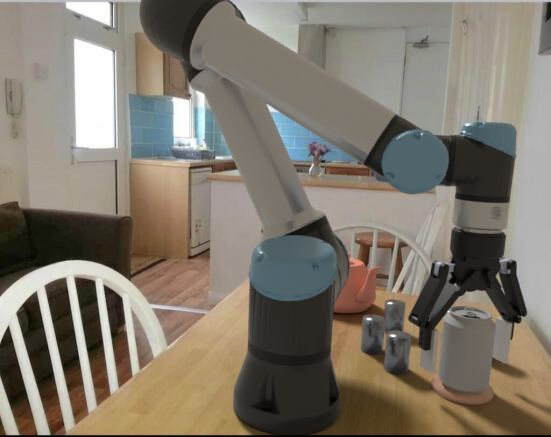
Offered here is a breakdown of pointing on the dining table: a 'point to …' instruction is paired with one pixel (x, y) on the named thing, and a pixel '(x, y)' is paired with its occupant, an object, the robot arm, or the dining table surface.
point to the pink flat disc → (459, 397)
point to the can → (466, 349)
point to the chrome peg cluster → (388, 336)
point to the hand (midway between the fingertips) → (464, 364)
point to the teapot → (357, 288)
